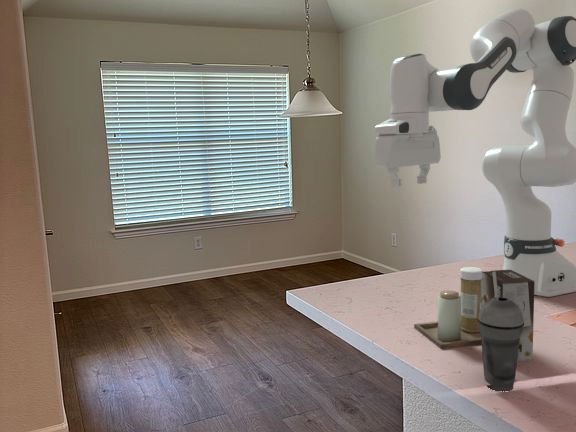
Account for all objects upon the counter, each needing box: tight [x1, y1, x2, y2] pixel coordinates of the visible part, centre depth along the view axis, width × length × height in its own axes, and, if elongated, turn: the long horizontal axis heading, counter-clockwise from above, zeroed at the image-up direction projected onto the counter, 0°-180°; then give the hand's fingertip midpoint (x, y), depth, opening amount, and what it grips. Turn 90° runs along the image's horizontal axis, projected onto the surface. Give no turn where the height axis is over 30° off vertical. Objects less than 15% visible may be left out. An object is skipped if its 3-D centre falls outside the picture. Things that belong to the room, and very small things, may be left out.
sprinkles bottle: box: [459, 266, 484, 333], centre depth 111 cm, size 5×5×14 cm
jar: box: [437, 290, 461, 342], centre depth 107 cm, size 5×5×10 cm
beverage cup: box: [478, 270, 524, 393], centre depth 88 cm, size 7×7×20 cm
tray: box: [413, 320, 481, 350], centre depth 111 cm, size 16×12×2 cm
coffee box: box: [480, 269, 535, 363], centre depth 100 cm, size 9×6×16 cm
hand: (409, 185), depth 124 cm, fingers open, 8 cm apart
